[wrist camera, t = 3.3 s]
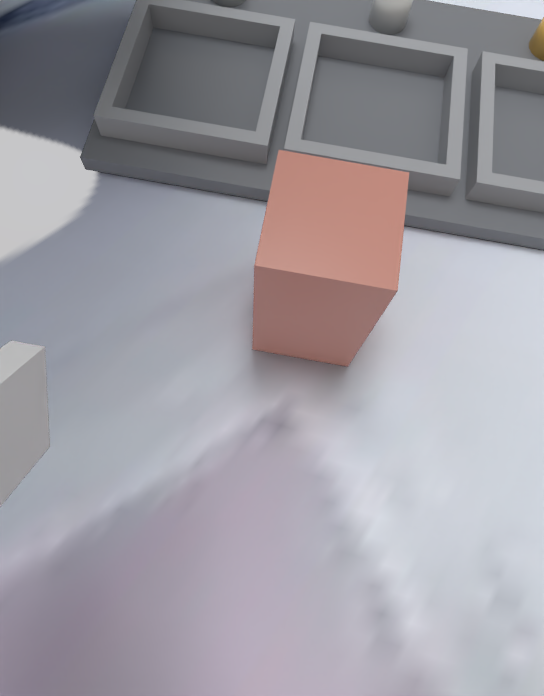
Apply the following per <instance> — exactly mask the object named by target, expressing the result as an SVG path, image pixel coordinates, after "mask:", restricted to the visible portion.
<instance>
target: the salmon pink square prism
mask: <svg viewBox="0 0 544 696" xmlns="http://www.w3.org/2000/svg"><path fill="white" fill-rule="evenodd" d="M408 181H409V172H404V171H398V170H392V169H386V168H381V167H375V166H369V165H363V164H358V163H352V162H346V161H341V160H335V159H329V158H323V157H318V156H312V155H306V154H300V153H295V152H289V151H283V150H279V151H278V155H277V160H276V165H275V170H274V174H273V179H272V184H271V189H270V193H269V198H268V203H267V208H266V212H265V217H264V222H263V227H262V231H261V236H260V241H259V246H258V251H257V255H256V260H255V265H254V303H253V345H252V349H253V350H258V351H264V352H269V353H275V354H280V355H286V356H291V357H297V358H303V359H308V360H314V361H319V362H325V363H330V364H336V365H341V366H347V367H348V366H349V364H350V363H351V361H352V360H353V358H354V356H355V355H356V353H357V352H358V350H359V349H360V347H361V346H362V344H363V343H364V341H365V340H366V338H367V337H368V335H369V334H370V332H371V330H372V329H373V327H374V326H375V324H376V323H377V321H378V320H379V318H380V317H381V315H382V314H383V312H384V311H385V309H386V308H387V306H388V305H389V303H390V301H391V300H392V298H393V297H394V295H395V294H396V292H397V291H398V281H399V271H400V261H401V251H402V241H403V231H404V221H405V211H406V201H407V191H408Z"/></svg>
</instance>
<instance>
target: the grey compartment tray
mask: <svg viewBox="0 0 544 696" xmlns="http://www.w3.org/2000/svg"><path fill="white" fill-rule="evenodd" d="M93 116H94V121H93V124H92V127H91V129H90V132H89V135H88V138H87V140H86V143H85V146H84V148H83V151H82V154H81V156H80V158H81V160H82V162H83V165H84V167H85V169H87V170H93V171H98V172H104V173H110V174H115V175H121V176H127V177H132V178H138V179H144V180H149V181H155V182H161V183H167V184H172V185H178V186H184V187H189V188H195V189H201V190H206V191H212V192H218V193H223V194H229V195H235V196H240V197H246V198H252V199H257V200H263V201H268V198H269V193H270V189H271V184H272V179H273V174H274V170H275V165H276V160H277V155H278V151H279V150H283V151H289V152H295V153H300V154H306V155H312V156H318V157H323V158H329V159H335V160H341V161H346V162H352V163H358V164H363V165H369V166H375V167H381V168H386V169H392V170H398V171H404V172H409V181H408V191H407V201H406V211H405V221H404V225H405V226H411V227H416V228H422V229H428V230H433V231H439V232H445V233H450V234H456V235H462V236H467V237H473V238H479V239H485V240H490V241H496V242H502V243H507V244H513V245H519V246H524V247H530V248H536V249H541V250H544V18H543V19H542V20H540V19H534V18H528V17H522V16H516V15H510V14H504V13H498V12H492V11H487V10H481V9H475V8H469V7H463V6H457V5H451V4H445V3H439V2H434V1H428V0H136V3H135V5H134V8H133V11H132V13H131V16H130V19H129V21H128V24H127V27H126V29H125V32H124V35H123V37H122V40H121V43H120V45H119V48H118V51H117V53H116V56H115V59H114V61H113V64H112V67H111V69H110V72H109V75H108V77H107V80H106V83H105V85H104V88H103V91H102V93H101V96H100V99H99V101H98V104H97V107H96V109H95V112H94V115H93Z"/></svg>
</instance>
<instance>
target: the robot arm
mask: <svg viewBox="0 0 544 696" xmlns="http://www.w3.org/2000/svg"><path fill="white" fill-rule="evenodd" d="M49 447H50V438H49V417H48V397H47V377H46V357H45V347H44V346H39V345H33V344H28V343H22V342H17V341H12V340H11V341H10V342H8V343H7V344H6V345H4V346H3V347H1V348H0V507H1V506H2V504H3V503H4V502H5V501H6V500H7V498H8V497H9V496H10V495H11V493H12V492H13V491H14V490H15V489H16V487H17V486H18V485H19V484H20V482H21V481H22V480H23V479H24V478H25V476H26V475H27V474H28V473H29V471H30V470H31V469H32V468H33V467H34V465H35V464H36V463H37V462H38V460H39V459H40V458H41V457H42V456H43V454H44V453H45V452H46V451H47V450H48V448H49Z"/></svg>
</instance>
